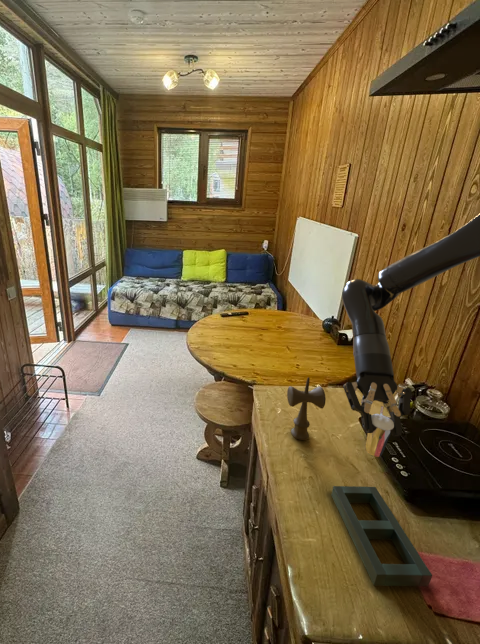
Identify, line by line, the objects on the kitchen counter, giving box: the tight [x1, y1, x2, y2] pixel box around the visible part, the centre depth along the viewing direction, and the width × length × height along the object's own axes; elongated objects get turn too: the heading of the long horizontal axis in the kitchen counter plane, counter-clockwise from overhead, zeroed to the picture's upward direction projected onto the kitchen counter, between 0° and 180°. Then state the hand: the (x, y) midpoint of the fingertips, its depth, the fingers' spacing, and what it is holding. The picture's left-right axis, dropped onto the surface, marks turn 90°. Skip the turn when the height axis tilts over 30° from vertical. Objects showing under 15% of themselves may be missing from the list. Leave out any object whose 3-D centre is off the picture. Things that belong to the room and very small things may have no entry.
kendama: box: [286, 376, 327, 441], centre depth 89 cm, size 6×10×20 cm, turn 88°
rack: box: [330, 485, 433, 587], centre depth 64 cm, size 10×18×3 cm, turn 0°
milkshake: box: [365, 405, 394, 458], centre depth 67 cm, size 4×5×10 cm
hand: (382, 433), depth 65 cm, fingers closed on milkshake, 4 cm apart
